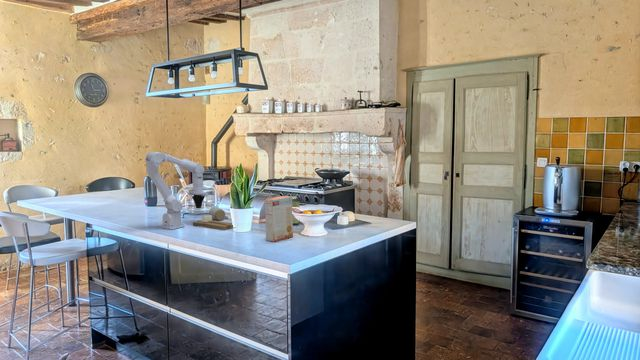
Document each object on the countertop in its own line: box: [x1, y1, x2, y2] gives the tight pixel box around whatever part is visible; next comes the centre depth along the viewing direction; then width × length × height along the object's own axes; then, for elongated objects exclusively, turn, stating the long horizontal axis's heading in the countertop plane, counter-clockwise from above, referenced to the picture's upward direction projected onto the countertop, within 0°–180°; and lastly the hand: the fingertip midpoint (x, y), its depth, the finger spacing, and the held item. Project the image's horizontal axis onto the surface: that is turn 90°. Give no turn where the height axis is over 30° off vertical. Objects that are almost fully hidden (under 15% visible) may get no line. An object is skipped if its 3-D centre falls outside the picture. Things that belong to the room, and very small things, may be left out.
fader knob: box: [201, 214, 213, 222], centre depth 261 cm, size 5×3×3 cm, turn 147°
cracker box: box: [264, 195, 294, 243], centre depth 226 cm, size 14×6×21 cm, turn 141°
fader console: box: [192, 219, 234, 231], centre depth 258 cm, size 10×24×2 cm, turn 57°
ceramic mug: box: [208, 206, 229, 221], centre depth 278 cm, size 11×8×8 cm
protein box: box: [272, 196, 300, 227], centre depth 264 cm, size 10×16×16 cm
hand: (198, 208), depth 264 cm, fingers closed
